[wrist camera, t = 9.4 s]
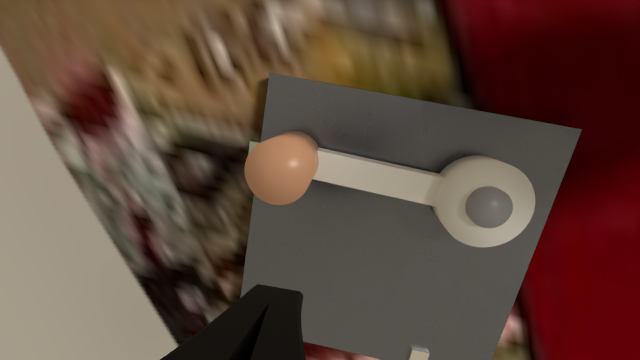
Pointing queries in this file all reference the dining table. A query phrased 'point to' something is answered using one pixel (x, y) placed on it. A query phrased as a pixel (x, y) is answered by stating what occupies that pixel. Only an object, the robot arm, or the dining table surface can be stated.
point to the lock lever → (401, 185)
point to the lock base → (397, 225)
